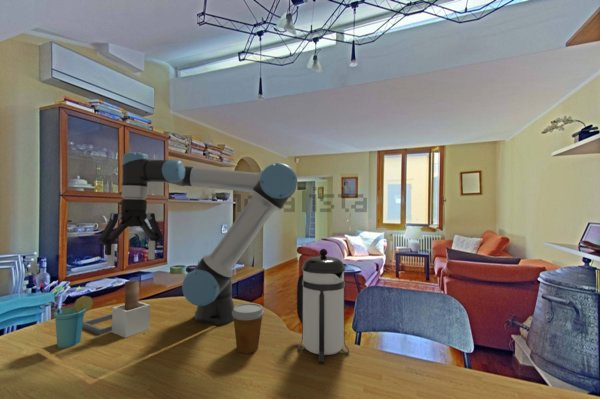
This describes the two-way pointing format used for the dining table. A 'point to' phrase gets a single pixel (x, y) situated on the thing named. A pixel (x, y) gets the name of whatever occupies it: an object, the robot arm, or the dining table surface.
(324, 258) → the coffee press
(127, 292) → the dowel
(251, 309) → the disposable coffee cup
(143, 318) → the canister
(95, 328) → the tray
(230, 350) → the dining table surface
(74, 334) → the cup
